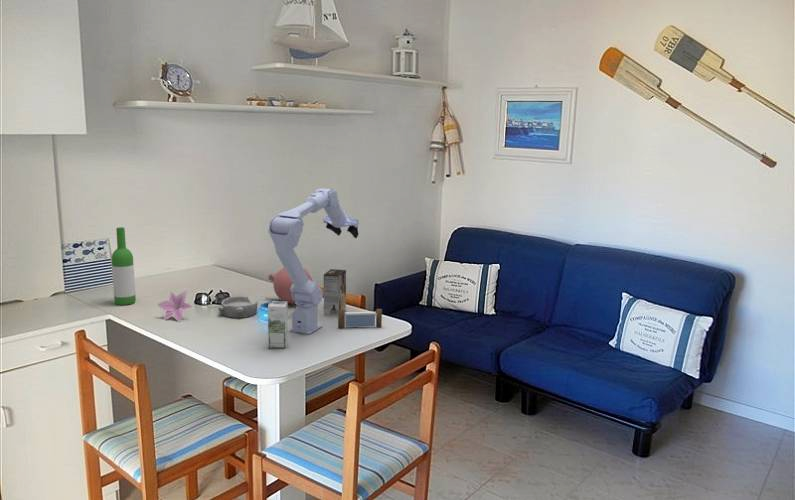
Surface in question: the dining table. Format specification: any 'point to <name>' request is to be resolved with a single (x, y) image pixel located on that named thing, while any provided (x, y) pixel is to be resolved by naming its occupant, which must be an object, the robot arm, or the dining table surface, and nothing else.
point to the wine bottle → (123, 271)
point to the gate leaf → (360, 319)
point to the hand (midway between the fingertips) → (348, 234)
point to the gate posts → (342, 318)
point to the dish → (238, 307)
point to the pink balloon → (284, 285)
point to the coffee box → (334, 291)
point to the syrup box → (277, 324)
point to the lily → (175, 305)
